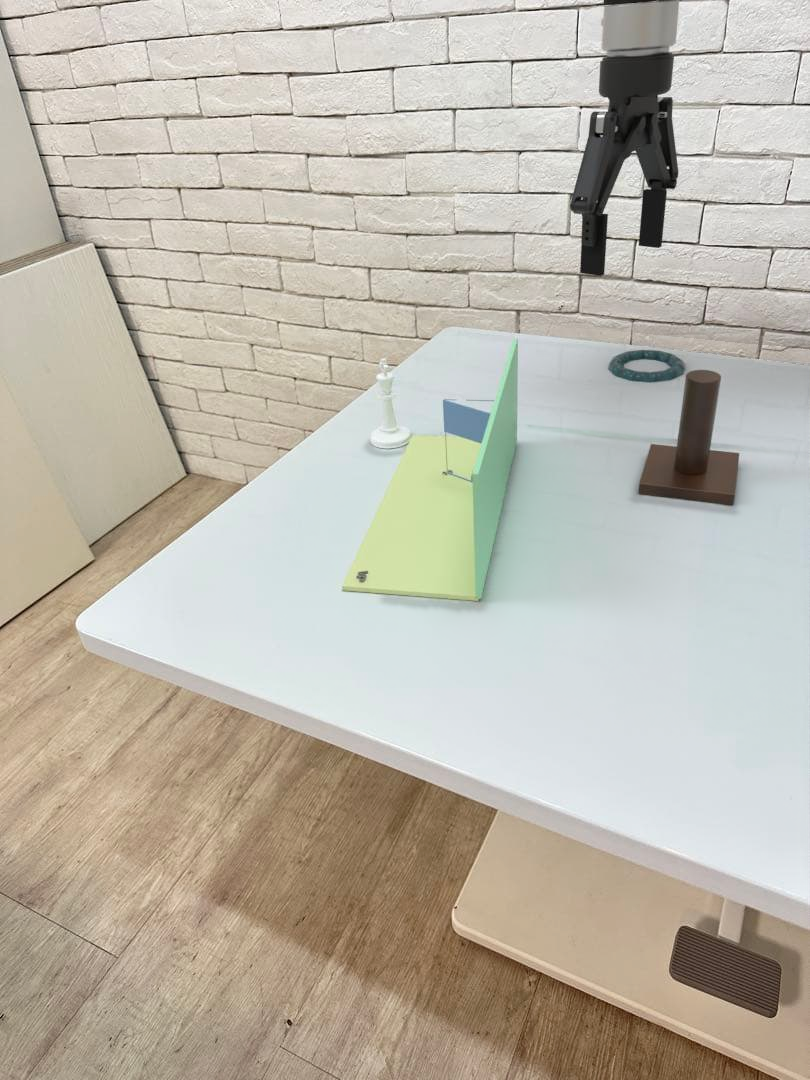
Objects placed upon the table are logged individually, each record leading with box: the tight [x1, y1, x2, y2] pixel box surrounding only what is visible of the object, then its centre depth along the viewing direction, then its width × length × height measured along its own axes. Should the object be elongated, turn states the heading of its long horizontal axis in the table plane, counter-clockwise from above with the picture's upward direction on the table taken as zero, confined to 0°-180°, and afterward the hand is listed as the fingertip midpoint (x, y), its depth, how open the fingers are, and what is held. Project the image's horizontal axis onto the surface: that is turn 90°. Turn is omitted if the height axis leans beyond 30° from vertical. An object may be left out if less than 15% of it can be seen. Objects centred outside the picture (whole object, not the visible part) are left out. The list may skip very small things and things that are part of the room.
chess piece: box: [369, 357, 412, 450], centre depth 92 cm, size 5×5×10 cm
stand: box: [637, 369, 740, 506], centre depth 79 cm, size 9×9×11 cm
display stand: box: [341, 337, 519, 602], centre depth 78 cm, size 30×12×12 cm, turn 167°
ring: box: [607, 349, 686, 384], centre depth 105 cm, size 10×10×2 cm
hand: (622, 259), depth 95 cm, fingers open, 13 cm apart
